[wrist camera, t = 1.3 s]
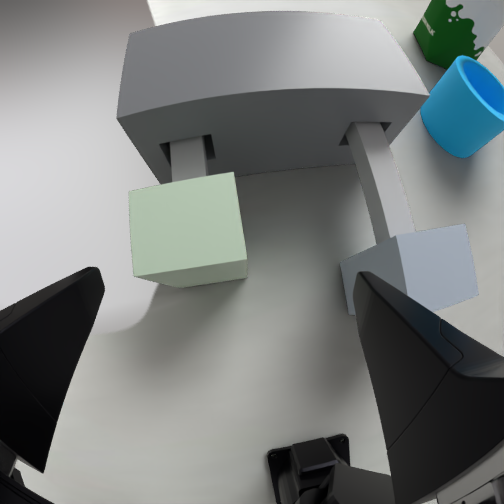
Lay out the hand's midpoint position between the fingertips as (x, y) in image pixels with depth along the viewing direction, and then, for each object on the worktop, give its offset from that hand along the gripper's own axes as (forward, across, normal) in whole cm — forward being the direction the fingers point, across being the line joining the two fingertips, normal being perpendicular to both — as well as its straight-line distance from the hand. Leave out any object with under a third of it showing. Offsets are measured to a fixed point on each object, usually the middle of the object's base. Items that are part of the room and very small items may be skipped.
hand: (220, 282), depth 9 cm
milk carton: (+31, -27, -17) cm, 44 cm away
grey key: (+14, -9, +2) cm, 16 cm away
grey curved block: (+18, -2, -3) cm, 18 cm away
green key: (+14, +3, +1) cm, 14 cm away
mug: (+22, -24, -6) cm, 33 cm away
